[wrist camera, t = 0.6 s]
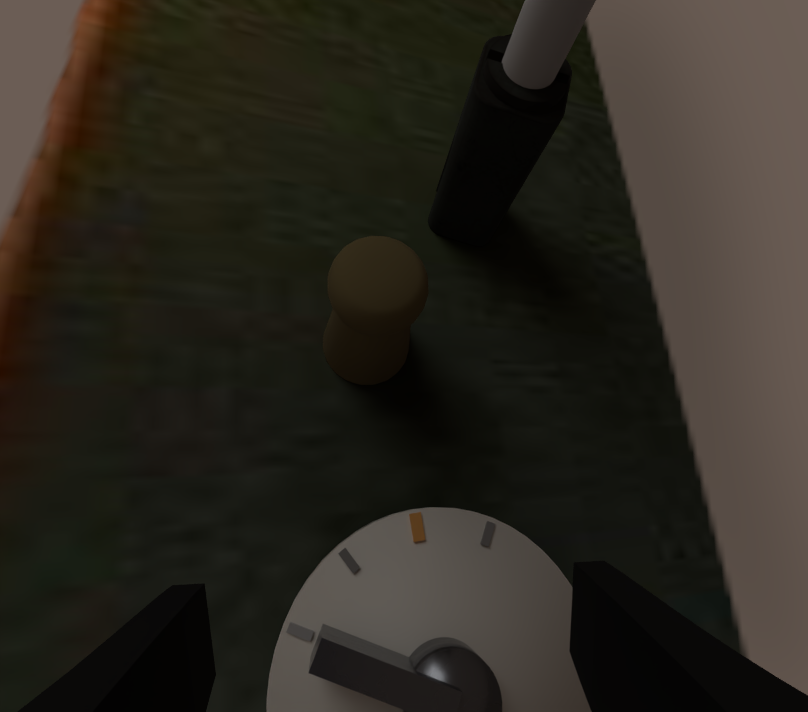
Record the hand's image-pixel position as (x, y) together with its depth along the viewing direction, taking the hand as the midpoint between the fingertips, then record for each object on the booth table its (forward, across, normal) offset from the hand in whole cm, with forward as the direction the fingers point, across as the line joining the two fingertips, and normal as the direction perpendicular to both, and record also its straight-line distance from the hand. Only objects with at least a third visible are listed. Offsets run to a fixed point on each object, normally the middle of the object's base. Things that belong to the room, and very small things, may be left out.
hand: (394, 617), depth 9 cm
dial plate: (+16, -2, +17) cm, 23 cm away
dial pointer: (+14, 0, +15) cm, 21 cm away
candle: (+31, -7, -10) cm, 33 cm away
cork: (+25, +1, -1) cm, 25 cm away
